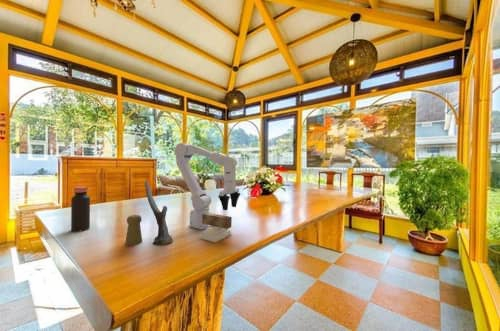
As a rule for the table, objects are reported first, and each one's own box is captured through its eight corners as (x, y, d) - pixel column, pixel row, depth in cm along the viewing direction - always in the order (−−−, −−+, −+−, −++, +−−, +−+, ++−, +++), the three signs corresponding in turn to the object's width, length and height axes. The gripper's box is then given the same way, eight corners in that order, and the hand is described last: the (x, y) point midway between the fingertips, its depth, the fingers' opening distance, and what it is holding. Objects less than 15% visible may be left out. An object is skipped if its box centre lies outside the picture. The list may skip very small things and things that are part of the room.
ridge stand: (201, 238, 89) (201, 227, 89) (216, 231, 99) (217, 220, 99) (215, 242, 85) (216, 230, 85) (230, 234, 95) (230, 223, 95)
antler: (175, 238, 88) (176, 180, 87) (168, 246, 80) (169, 182, 80) (147, 238, 88) (148, 180, 87) (138, 246, 80) (139, 182, 79)
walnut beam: (202, 223, 94) (202, 213, 94) (206, 221, 97) (206, 212, 96) (227, 229, 87) (227, 218, 87) (231, 227, 90) (231, 217, 90)
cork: (124, 246, 79) (124, 218, 79) (125, 240, 85) (126, 214, 84) (142, 243, 82) (142, 216, 82) (142, 238, 87) (142, 213, 87)
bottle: (67, 230, 95) (68, 187, 94) (84, 226, 101) (84, 185, 101) (76, 232, 92) (76, 188, 92) (93, 228, 98) (93, 186, 98)
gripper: (228, 182, 93) (227, 212, 94) (244, 180, 106) (243, 206, 106) (215, 182, 97) (215, 210, 97) (232, 179, 109) (232, 205, 110)
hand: (229, 208), depth 102 cm, fingers open, 7 cm apart
